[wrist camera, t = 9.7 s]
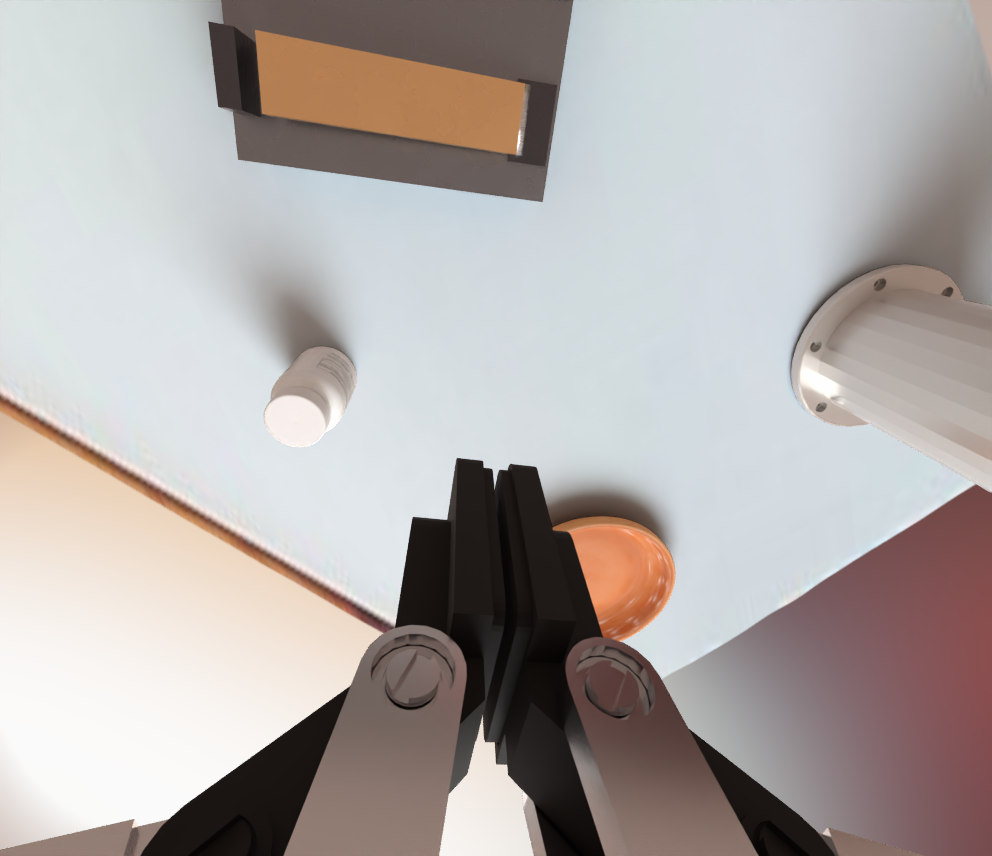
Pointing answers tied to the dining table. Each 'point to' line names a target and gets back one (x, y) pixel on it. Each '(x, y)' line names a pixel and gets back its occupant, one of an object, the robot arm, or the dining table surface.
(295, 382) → the pill bottle
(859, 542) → the dining table surface
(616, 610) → the saucer
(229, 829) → the robot arm
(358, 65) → the strap
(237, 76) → the grey mounting plate
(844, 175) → the dining table surface
